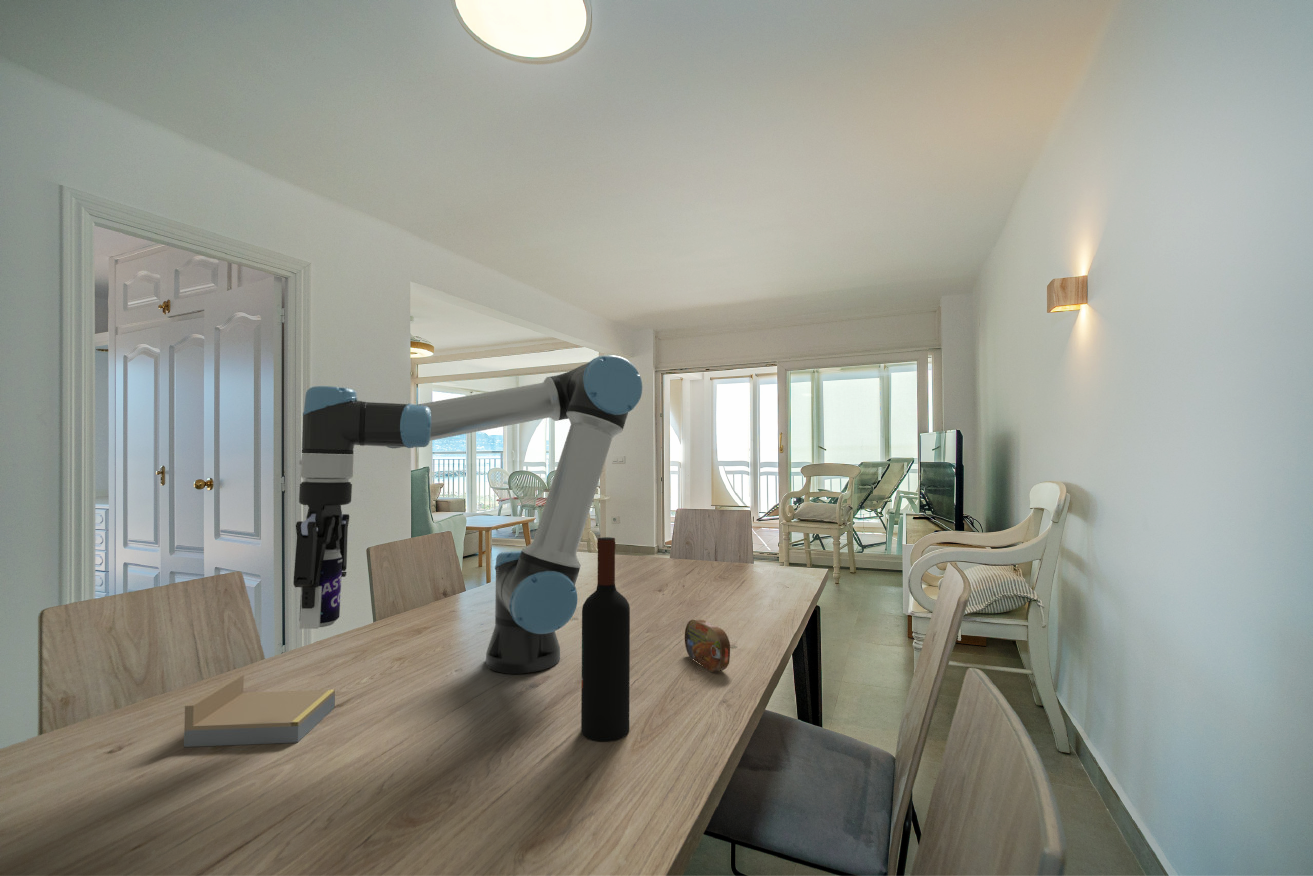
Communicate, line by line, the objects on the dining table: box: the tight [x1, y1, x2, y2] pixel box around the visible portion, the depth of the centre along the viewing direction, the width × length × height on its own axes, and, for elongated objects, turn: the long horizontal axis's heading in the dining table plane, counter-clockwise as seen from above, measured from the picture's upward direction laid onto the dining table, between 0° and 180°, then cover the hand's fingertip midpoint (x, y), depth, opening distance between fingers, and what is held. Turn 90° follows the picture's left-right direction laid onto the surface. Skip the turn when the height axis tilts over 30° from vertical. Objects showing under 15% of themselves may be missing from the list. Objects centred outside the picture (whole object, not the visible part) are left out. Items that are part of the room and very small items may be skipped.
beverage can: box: [299, 549, 343, 628], centre depth 95 cm, size 6×6×12 cm
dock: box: [183, 674, 336, 748], centre depth 93 cm, size 16×12×6 cm
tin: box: [684, 619, 731, 673], centre depth 120 cm, size 15×3×8 cm, turn 25°
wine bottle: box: [580, 536, 631, 743], centre depth 92 cm, size 8×8×30 cm
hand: (319, 622), depth 95 cm, fingers closed on beverage can, 6 cm apart
